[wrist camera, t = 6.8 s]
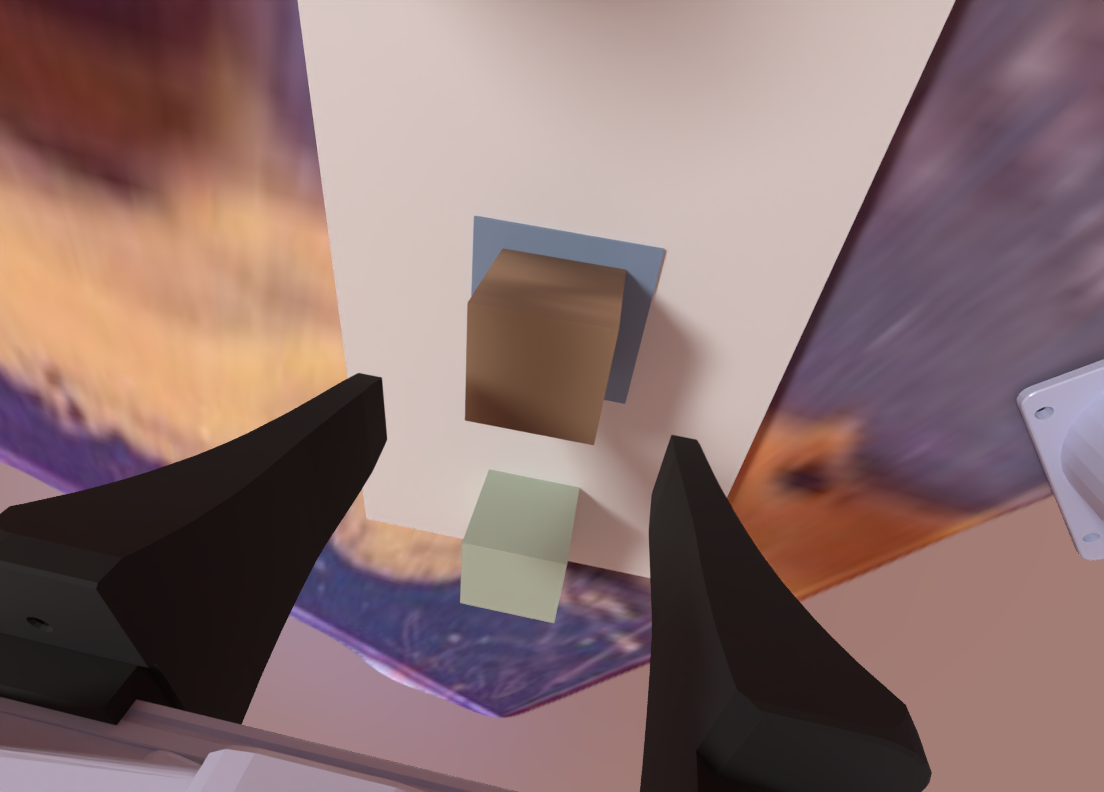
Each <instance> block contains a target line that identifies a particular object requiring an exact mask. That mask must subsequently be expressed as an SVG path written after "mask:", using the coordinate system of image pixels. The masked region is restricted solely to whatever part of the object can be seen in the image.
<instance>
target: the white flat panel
mask: <svg viewBox="0 0 1104 792" xmlns="http://www.w3.org/2000/svg"><path fill="white" fill-rule="evenodd" d="M954 2H955V0H298V7H299V15H300V22H301V30H302V37H303V45H304V52H305V60H306V67H307V75H308V82H309V90H310V97H311V105H312V112H313V120H314V127H315V135H316V143H317V150H318V158H319V165H320V173H321V180H322V188H323V195H324V203H325V210H326V218H327V225H328V233H329V240H330V248H331V256H332V263H333V271H334V278H335V286H336V293H337V301H338V308H339V316H340V323H341V331H342V338H343V346H344V353H345V361H346V369H347V376H348V378H350V377H351V376H353V375H355V374H357V373H362V374H367V375H372V376H377V377H382V383H383V395H384V406H385V418H386V430H387V442H386V444H385V446H384V448H383V450H382V453H381V455H380V457H379V459H378V461H377V463H376V466H375V468H374V470H373V472H372V474H371V475H370V477H369V478H368V480H367V482H366V483H365V485H364V486H363V488H362V489H363V497H364V504H365V512H366V519H370V520H375V521H380V522H384V523H389V524H394V525H399V526H403V527H408V528H413V529H418V530H423V531H427V532H432V533H437V534H442V535H446V536H451V537H456V538H461V539H464V536H465V533H466V531H467V528H468V525H469V522H470V520H471V517H472V514H473V512H474V509H475V506H476V503H477V501H478V498H479V495H480V492H481V490H482V487H483V484H484V481H485V479H486V476H487V473H488V470H489V469H490V470H495V471H500V472H505V473H510V474H515V475H520V476H525V477H530V478H535V479H540V480H545V481H550V482H555V483H560V484H565V485H570V486H575V487H580V488H579V494H578V500H577V506H576V512H575V519H574V525H573V531H572V537H571V543H570V550H569V556H568V561H571V562H575V563H580V564H585V565H590V566H595V567H599V568H604V569H609V570H614V571H618V572H623V573H628V574H633V575H638V576H642V577H647V578H650V558H649V519H650V507H651V495H652V491H653V488H654V485H655V482H656V479H657V476H658V473H659V470H660V467H661V464H662V461H663V458H664V455H665V452H666V449H667V446H668V443H669V440H670V437H671V435H676V436H681V437H686V438H691V439H696V440H697V441H698V442H699V444H700V445H701V448H702V450H703V452H704V454H705V456H706V458H707V461H708V463H709V465H710V467H711V469H712V471H713V473H714V475H715V477H716V479H717V481H718V483H719V485H720V487H721V488H722V490H723V492H724V494H725V496H726V498H727V496H728V494H729V492H730V490H731V488H732V485H733V483H734V481H735V479H736V477H737V475H738V472H739V470H740V468H741V466H742V464H743V461H744V459H745V457H746V455H747V453H748V451H749V448H750V446H751V444H752V442H753V440H754V438H755V435H756V433H757V431H758V429H759V427H760V424H761V422H762V420H763V418H764V416H765V414H766V411H767V409H768V407H769V405H770V403H771V401H772V398H773V396H774V394H775V392H776V390H777V388H778V385H779V383H780V381H781V379H782V377H783V374H784V372H785V370H786V368H787V366H788V364H789V361H790V359H791V357H792V355H793V353H794V351H795V348H796V346H797V344H798V342H799V340H800V337H801V335H802V333H803V331H804V329H805V327H806V324H807V322H808V320H809V318H810V316H811V314H812V311H813V309H814V307H815V305H816V303H817V300H818V298H819V296H820V294H821V292H822V290H823V287H824V285H825V283H826V281H827V279H828V277H829V274H830V272H831V270H832V268H833V266H834V264H835V261H836V259H837V257H838V255H839V253H840V250H841V248H842V246H843V244H844V242H845V240H846V237H847V235H848V233H849V231H850V229H851V227H852V224H853V222H854V220H855V218H856V216H857V213H858V211H859V209H860V207H861V205H862V203H863V200H864V198H865V196H866V194H867V192H868V190H869V187H870V185H871V183H872V181H873V179H874V176H875V174H876V172H877V170H878V168H879V166H880V163H881V161H882V159H883V157H884V155H885V153H886V150H887V148H888V146H889V144H890V142H891V139H892V137H893V135H894V133H895V131H896V129H897V126H898V124H899V122H900V120H901V118H902V116H903V113H904V111H905V109H906V107H907V105H908V103H909V100H910V98H911V96H912V94H913V92H914V89H915V87H916V85H917V83H918V81H919V79H920V76H921V74H922V72H923V70H924V68H925V66H926V63H927V61H928V59H929V57H930V55H931V52H932V50H933V48H934V46H935V44H936V42H937V39H938V37H939V35H940V33H941V31H942V29H943V26H944V24H945V22H946V20H947V18H948V15H949V13H950V11H951V9H952V7H953V5H954ZM503 248H504V249H510V250H516V251H522V252H527V253H533V254H539V255H545V256H551V257H556V258H562V259H568V260H574V261H579V262H585V263H591V264H597V265H603V266H608V267H614V268H620V269H626V274H625V283H624V291H623V300H622V308H621V317H620V325H619V332H618V337H617V341H616V346H615V350H614V355H613V360H612V364H611V369H610V373H609V378H608V383H607V387H606V392H605V396H604V401H603V406H602V410H601V415H600V420H599V424H598V429H597V433H596V438H595V443H594V445H589V444H584V443H579V442H573V441H568V440H563V439H558V438H553V437H548V436H542V435H537V434H532V433H527V432H522V431H516V430H511V429H506V428H501V427H496V426H490V425H485V424H480V423H475V422H470V421H465V387H466V343H467V303H468V301H469V299H470V298H471V296H472V295H473V293H474V292H475V290H476V289H477V287H478V286H479V284H480V282H481V281H482V279H483V278H484V276H485V275H486V273H487V272H488V270H489V269H490V267H491V266H492V264H493V262H494V261H495V259H496V258H497V256H498V255H499V253H500V252H501V250H502V249H503Z"/></svg>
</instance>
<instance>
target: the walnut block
mask: <svg viewBox="0 0 1104 792" xmlns="http://www.w3.org/2000/svg"><path fill="white" fill-rule="evenodd" d="M625 274H626V269H620V268H614V267H608V266H603V265H597V264H591V263H585V262H579V261H574V260H568V259H562V258H556V257H551V256H545V255H539V254H533V253H527V252H522V251H516V250H510V249H504V248H503V249H502V250H501V252H500V253H499V255H498V256H497V258H496V259H495V261H494V262H493V264H492V266H491V267H490V269H489V270H488V272H487V273H486V275H485V276H484V278H483V279H482V281H481V282H480V284H479V286H478V287H477V289H476V290H475V292H474V293H473V295H472V296H471V298H470V299H469V301H468V303H467V343H466V387H465V421H470V422H475V423H480V424H485V425H490V426H496V427H501V428H506V429H511V430H516V431H522V432H527V433H532V434H537V435H542V436H548V437H553V438H558V439H563V440H568V441H573V442H579V443H584V444H589V445H594V443H595V438H596V433H597V429H598V424H599V420H600V415H601V410H602V406H603V401H604V396H605V392H606V387H607V383H608V378H609V373H610V369H611V364H612V360H613V355H614V350H615V346H616V341H617V337H618V332H619V325H620V317H621V308H622V300H623V291H624V283H625Z"/></svg>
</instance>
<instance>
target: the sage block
mask: <svg viewBox="0 0 1104 792" xmlns="http://www.w3.org/2000/svg"><path fill="white" fill-rule="evenodd" d="M579 488H580V487H575V486H570V485H565V484H560V483H555V482H550V481H545V480H540V479H535V478H530V477H525V476H520V475H515V474H510V473H505V472H500V471H495V470H490V469H489V470H488V473H487V476H486V479H485V481H484V484H483V487H482V490H481V492H480V495H479V498H478V501H477V503H476V506H475V509H474V512H473V514H472V517H471V520H470V522H469V525H468V528H467V531H466V533H465V536H464V539H463V542H462V564H461V597H460V603H463V604H468V605H472V606H477V607H482V608H486V609H491V610H495V611H500V612H505V613H509V614H514V615H519V616H523V617H528V618H532V619H537V620H542V621H546V622H551V623H554V621H555V616H556V612H557V607H558V603H559V598H560V594H561V590H562V585H563V581H564V576H565V572H566V567H567V562H568V556H569V550H570V543H571V537H572V531H573V525H574V519H575V512H576V506H577V500H578V494H579Z"/></svg>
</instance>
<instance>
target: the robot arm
mask: <svg viewBox="0 0 1104 792" xmlns="http://www.w3.org/2000/svg"><path fill="white" fill-rule="evenodd" d="M1017 405H1018V407H1019V410H1020V412H1021V415H1022V417H1023V420H1024V422H1025V424H1026V427H1027V429H1028V432H1029V434H1030V437H1031V439H1032V442H1033V444H1034V447H1035V449H1036V452H1037V454H1038V457H1039V459H1040V462H1041V464H1042V467H1043V469H1044V472H1045V474H1046V477H1047V479H1048V482H1049V484H1050V487H1051V489H1052V492H1053V494H1054V497H1055V499H1056V502H1057V504H1058V506H1059V509H1060V511H1061V514H1062V516H1063V519H1064V521H1065V524H1066V526H1067V529H1068V531H1069V534H1070V536H1071V538H1072V541H1073V544H1074V546H1075V548H1076V550H1077V552H1078V553H1079V554H1080V555H1081V557H1082V558H1084V559H1087V560H1100V559H1104V359H1103V360H1100V361H1098V362H1095V363H1092V364H1090V365H1087V366H1084V367H1081V368H1079V369H1076V370H1073V371H1070V372H1068V373H1065V374H1062V375H1060V376H1057V377H1054V378H1051V379H1049V380H1046V381H1043V382H1041V383H1038V384H1035V385H1032V386H1030V387H1028V388H1026V389H1024V390H1023V391H1022V392H1021V393H1020V394H1019V395H1018V397H1017ZM1043 407H1045V409H1043V410H1041V411H1040V412H1036V411H1037V410H1039V409H1041V408H1043ZM386 442H387V430H386V418H385V406H384V395H383V383H382V377H377V376H372V375H367V374H362V373H357V374H355V375H353V376H351V377H350V378H348V379H346V380H344V381H342V382H341V383H339V384H337V385H336V386H334V387H332V388H330V389H329V390H327V391H325V392H323V393H322V394H320V395H318V396H317V397H315V398H313V399H311V400H310V401H308V402H306V403H304V404H302V405H301V406H299V407H297V408H295V409H294V410H292V411H290V412H288V413H286V414H284V415H282V416H281V417H279V418H277V419H275V420H273V421H271V422H269V423H267V424H265V425H263V426H261V427H259V428H257V429H255V430H253V431H251V432H249V433H247V434H245V435H243V436H241V437H239V438H236V439H234V440H232V441H230V442H227V443H225V444H223V445H220V446H218V447H215V448H213V449H211V450H208V451H206V452H203V453H201V454H198V455H196V456H193V457H190V458H187V459H184V460H182V461H179V462H176V463H173V464H170V465H167V466H164V467H161V468H159V469H156V470H153V471H150V472H147V473H144V474H140V475H137V476H134V477H130V478H127V479H124V480H120V481H117V482H113V483H109V484H106V485H102V486H98V487H95V488H91V489H87V490H83V491H79V492H75V493H70V494H66V495H61V496H56V497H52V498H47V499H43V500H38V501H34V502H29V503H25V504H20V505H15V506H10V507H8V508H7V509H6V510H5V511H3V512H2V513H1V514H0V792H517V791H513V790H508V789H504V788H500V787H496V786H492V785H488V784H484V783H480V782H476V781H471V780H467V779H463V778H459V777H455V776H451V775H447V774H443V773H438V772H434V771H430V770H426V769H422V768H418V767H414V766H409V765H405V764H401V763H397V762H393V761H389V760H384V759H380V758H376V757H372V756H368V755H364V754H360V753H356V752H352V751H348V750H343V749H339V748H335V747H331V746H327V745H323V744H319V743H314V742H310V741H306V740H302V739H298V738H294V737H290V736H286V735H282V734H277V733H273V732H269V731H265V730H261V729H257V728H253V727H248V726H244V725H241V724H242V722H243V719H244V717H245V714H246V712H247V710H248V707H249V705H250V702H251V700H252V697H253V695H254V693H255V690H256V688H257V685H258V683H259V680H260V678H261V676H262V673H263V671H264V669H265V667H266V664H267V662H268V660H269V658H270V655H271V653H272V651H273V649H274V647H275V644H276V642H277V640H278V638H279V635H280V633H281V631H282V629H283V627H284V625H285V623H286V620H287V618H288V616H289V614H290V612H291V610H292V608H293V606H294V604H295V602H296V600H297V597H298V595H299V593H300V591H301V590H302V588H303V586H304V584H305V582H306V580H307V578H308V576H309V574H310V572H311V570H312V568H313V566H314V564H315V562H316V560H317V558H318V557H319V555H320V553H321V552H322V550H323V548H324V547H325V545H326V543H327V542H328V540H329V539H330V537H331V536H332V534H333V533H334V531H335V530H336V528H337V526H338V525H339V523H340V522H341V520H342V519H343V517H344V516H345V514H346V513H347V511H348V510H349V508H350V507H351V505H352V504H353V502H354V500H355V499H356V497H357V496H358V494H359V493H360V491H361V490H362V488H363V486H364V485H365V483H366V482H367V480H368V478H369V477H370V475H371V474H372V472H373V470H374V468H375V466H376V463H377V461H378V459H379V457H380V455H381V453H382V450H383V448H384V446H385V444H386ZM649 558H650V581H651V605H652V642H651V660H650V676H649V691H648V705H647V718H646V731H645V743H644V755H643V767H642V776H641V787H640V792H922V791H923V790H924V789H925V788H926V786H927V785H928V784H929V781H930V777H931V769H930V767H929V764H928V761H927V758H926V755H925V753H924V750H923V746H922V743H921V741H920V738H919V735H918V732H917V730H916V727H915V725H914V723H913V721H912V719H911V716H910V714H909V712H908V709H907V707H906V705H905V704H904V703H903V702H902V701H901V700H900V699H898V698H897V697H896V696H895V695H894V694H893V693H891V691H889V690H888V689H887V688H886V687H885V686H884V685H883V684H881V683H880V682H879V681H878V680H877V679H876V678H875V677H874V676H872V675H871V674H870V673H869V672H868V671H867V670H865V668H863V667H862V666H861V665H860V664H859V663H858V662H857V661H856V660H855V659H854V658H853V657H852V656H850V654H849V653H847V651H845V650H844V648H842V647H841V646H840V645H839V644H838V643H837V642H836V641H835V640H834V639H833V638H832V637H831V636H830V635H829V634H828V633H827V632H826V630H825V629H823V627H822V626H821V625H820V624H819V623H818V622H817V621H816V620H815V619H814V618H813V617H812V616H811V615H810V613H809V612H808V611H807V610H806V609H805V608H804V606H803V605H802V604H801V603H800V602H799V601H798V600H797V599H796V597H795V596H794V595H793V594H792V593H791V592H790V590H789V589H788V588H787V587H786V586H785V584H784V583H783V582H782V581H781V580H780V578H779V577H778V576H777V574H776V573H775V572H774V570H773V569H772V568H771V566H770V565H769V564H768V562H767V561H766V560H765V558H764V557H763V556H762V554H761V553H760V551H759V550H758V548H757V547H756V545H755V544H754V542H753V541H752V539H751V538H750V536H749V535H748V533H747V532H746V530H745V528H744V527H743V525H742V524H741V522H740V520H739V519H738V517H737V515H736V514H735V512H734V510H733V508H732V507H731V505H730V503H729V501H728V499H727V498H726V496H725V494H724V492H723V490H722V488H721V487H720V485H719V483H718V481H717V479H716V477H715V475H714V473H713V471H712V469H711V467H710V465H709V463H708V461H707V458H706V456H705V454H704V452H703V450H702V448H701V445H700V444H699V442H698V441H697V440H696V439H691V438H686V437H681V436H676V435H671V437H670V440H669V443H668V446H667V449H666V452H665V455H664V458H663V461H662V464H661V467H660V470H659V473H658V476H657V479H656V482H655V485H654V488H653V491H652V495H651V507H650V519H649Z"/></svg>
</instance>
